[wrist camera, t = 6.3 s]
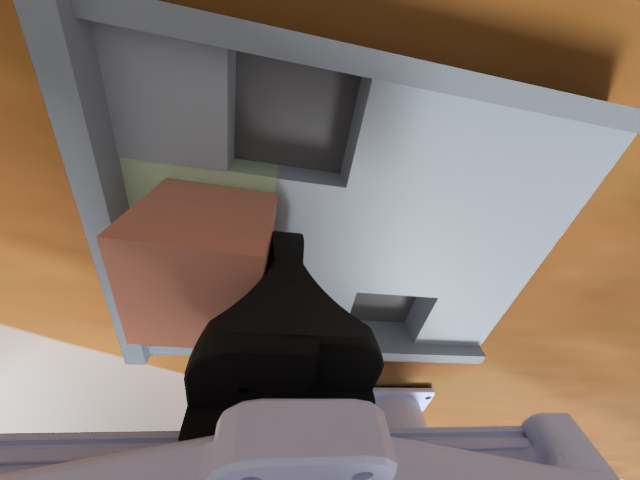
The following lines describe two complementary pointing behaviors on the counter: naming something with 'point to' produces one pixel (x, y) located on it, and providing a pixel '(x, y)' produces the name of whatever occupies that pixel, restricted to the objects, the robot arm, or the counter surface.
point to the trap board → (327, 157)
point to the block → (185, 258)
